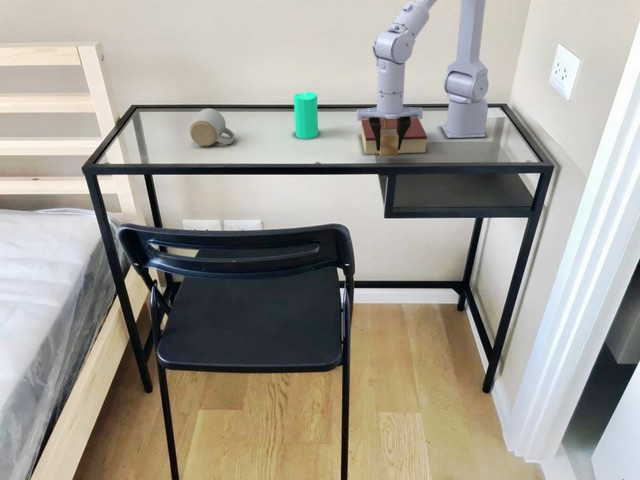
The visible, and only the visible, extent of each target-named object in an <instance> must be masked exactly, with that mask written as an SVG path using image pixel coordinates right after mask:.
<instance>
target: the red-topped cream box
mask: <svg viewBox="0 0 640 480" xmlns="http://www.w3.org/2000/svg"><path fill="white" fill-rule="evenodd" d="M360 125H361V126H360V127H361V128H360V129H361V130H360V131H361V132H360V134H361V135H360V137H361V141H362V145H363V146H362V147H363V150H364V154H365V155H380V154H379V151H377V149H376V140H375V141H366V139H365V135H364V131H363V126H362V122H361V124H360ZM427 139H428V138H427ZM427 139H407V140H402V143H401V147H400V150H398V154H413V153H417V154H419V153H427V152H426V149H427Z"/></svg>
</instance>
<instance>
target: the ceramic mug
mask: <svg viewBox="0 0 640 480" xmlns="http://www.w3.org/2000/svg"><path fill="white" fill-rule="evenodd" d="M189 134H190V137H191V140H192V141H193V142H194V143H195V144H197V145H199V146H201V147H210V146H212V145H214V144H215V143H217V142H218V143H220V144H223V145H231V144H233V143H234V141H235V138H236V134H235V133H234V132H233V131H232V130H231V129H230V128H228V127H226V120H225V117H224V116H223V115H222V114H221V113H220V112H219V111H217V110H216V109H214V108H204V109H202V110H200V111H199V112H198V113H197V116H196V117H195V118H194V120H193V121H192V122H191V125H190V128H189ZM222 134H225V135H227V136H229V137H230V138H224V137H222Z"/></svg>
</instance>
